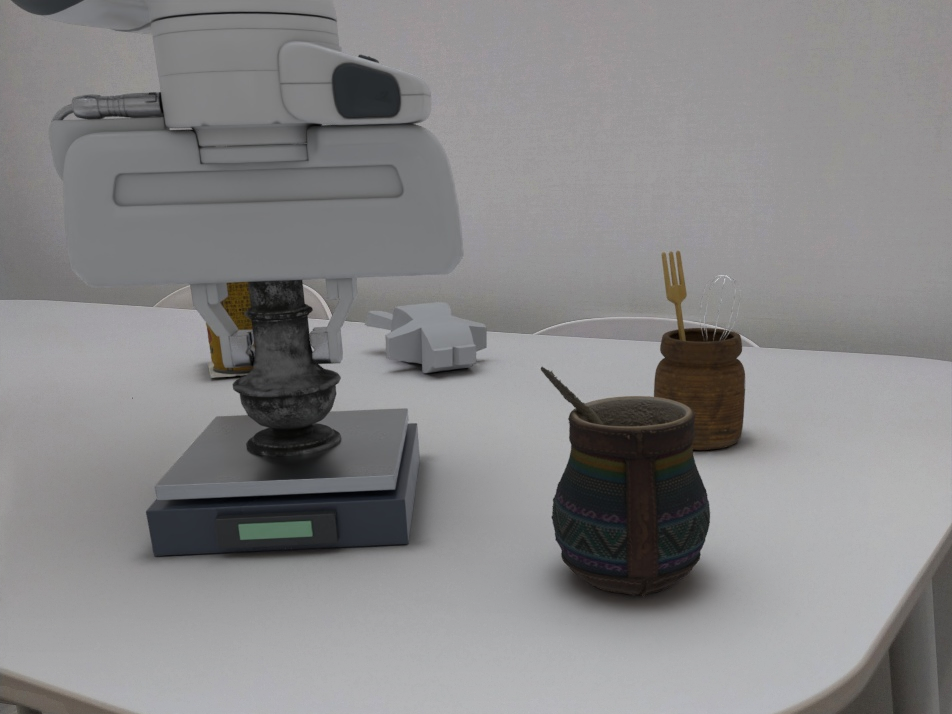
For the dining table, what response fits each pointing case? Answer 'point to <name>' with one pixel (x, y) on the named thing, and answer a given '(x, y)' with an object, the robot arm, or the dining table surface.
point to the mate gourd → (630, 493)
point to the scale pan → (290, 460)
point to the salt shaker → (285, 375)
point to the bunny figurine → (430, 336)
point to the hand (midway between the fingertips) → (285, 363)
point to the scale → (289, 517)
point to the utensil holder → (702, 369)
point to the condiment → (236, 310)
